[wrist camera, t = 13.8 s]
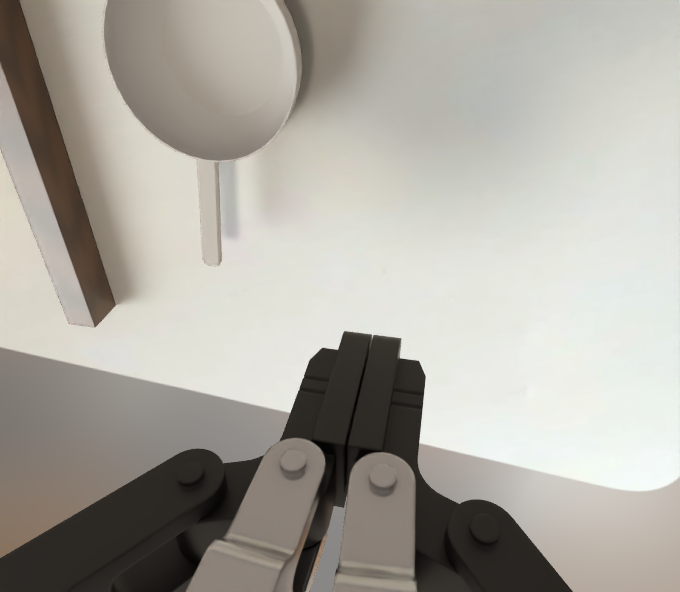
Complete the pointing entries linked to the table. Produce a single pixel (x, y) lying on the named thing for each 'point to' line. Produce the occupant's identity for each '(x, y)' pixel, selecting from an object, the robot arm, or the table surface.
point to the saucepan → (205, 81)
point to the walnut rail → (47, 177)
